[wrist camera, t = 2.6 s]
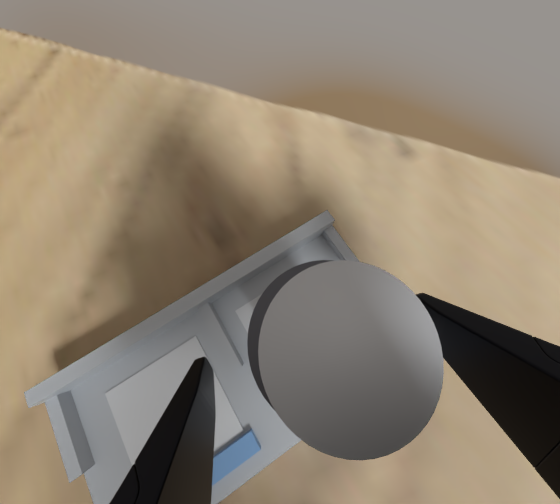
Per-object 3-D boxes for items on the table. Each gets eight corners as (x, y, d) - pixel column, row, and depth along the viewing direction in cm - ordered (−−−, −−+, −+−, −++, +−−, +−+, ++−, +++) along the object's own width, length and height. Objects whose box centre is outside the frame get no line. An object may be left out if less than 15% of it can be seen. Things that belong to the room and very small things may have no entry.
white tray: (321, 222, 20) (327, 209, 18) (415, 349, 17) (437, 354, 15) (61, 381, 17) (23, 392, 14) (123, 570, 14) (90, 623, 11)
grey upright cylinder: (341, 313, 17) (497, 301, 5) (313, 372, 16) (424, 561, 4) (286, 283, 18) (299, 205, 5) (257, 339, 17) (186, 402, 4)
